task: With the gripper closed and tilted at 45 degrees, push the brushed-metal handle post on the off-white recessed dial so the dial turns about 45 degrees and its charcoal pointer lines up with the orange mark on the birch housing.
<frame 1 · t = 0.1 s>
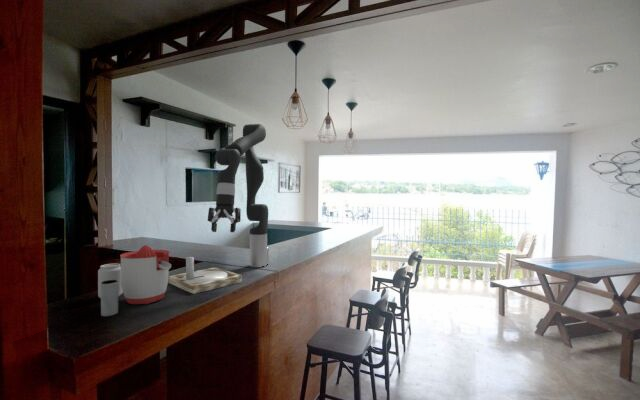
hand: (223, 232, 130), 22 cm above the table, tool pointing down, fingers open, 8 cm apart
dial: (205, 266, 133), point 7 cm above the table, hinge at 0.0°
planter: (109, 314, 98), on the table
can: (110, 297, 114), on the table
citrus juicer: (147, 300, 111), on the table
dial housing: (205, 282, 133), on the table
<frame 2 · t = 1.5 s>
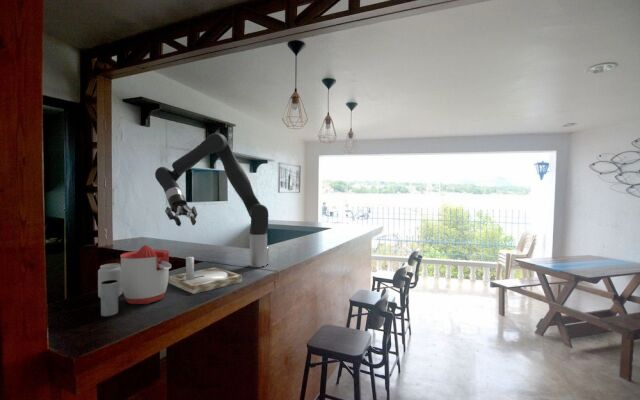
hand: (187, 224, 142), 24 cm above the table, tool tilted 45°, fingers open, 6 cm apart
nothing on the table moved.
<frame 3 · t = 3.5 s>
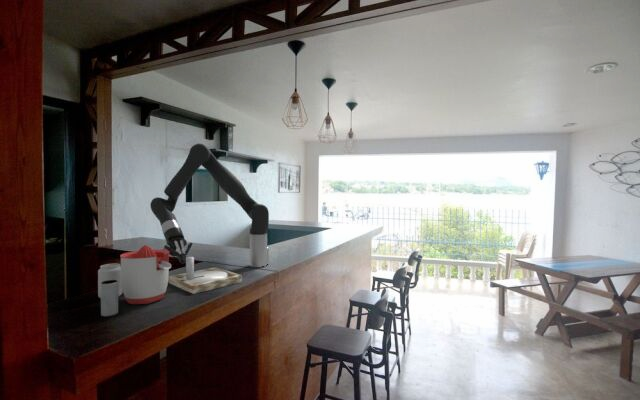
hand: (184, 262, 133), 9 cm above the table, tool tilted 45°, fingers closed
nothing on the table moved.
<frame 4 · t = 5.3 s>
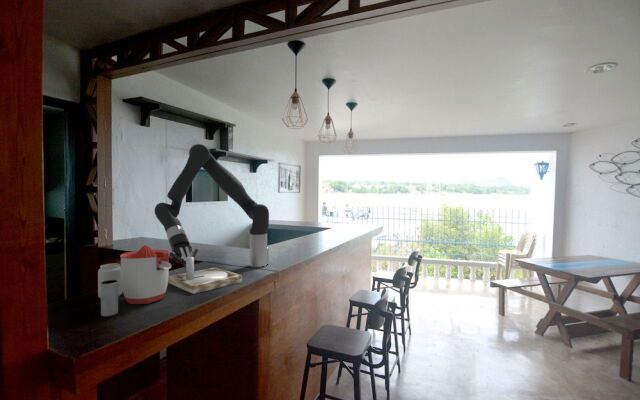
hand: (190, 269, 130), 6 cm above the table, tool tilted 45°, fingers closed
dial: (205, 266, 133), point 7 cm above the table, hinge at 0.1°, touching gripper
everything else where it was.
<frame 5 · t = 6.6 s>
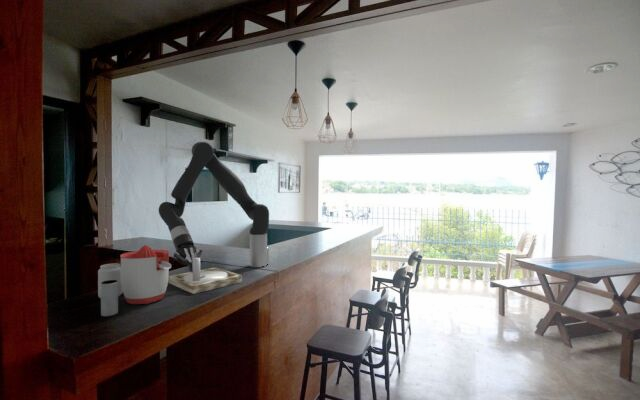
hand: (194, 271, 128), 6 cm above the table, tool tilted 45°, fingers closed
dial: (205, 266, 133), point 7 cm above the table, hinge at 31.1°, touching gripper
everything else where it was.
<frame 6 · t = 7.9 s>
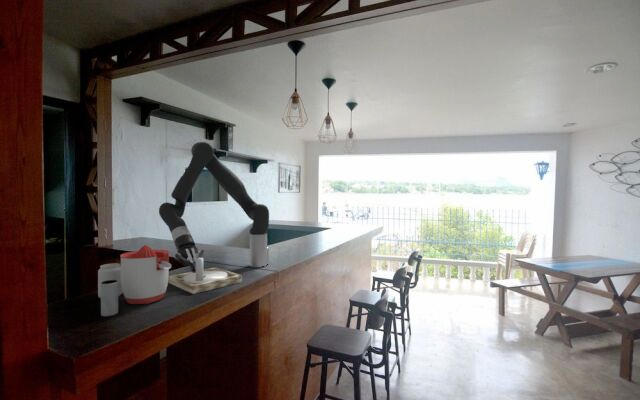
hand: (196, 271, 127), 6 cm above the table, tool tilted 45°, fingers closed
dial: (205, 266, 133), point 7 cm above the table, hinge at 42.0°, touching gripper
everything else where it was.
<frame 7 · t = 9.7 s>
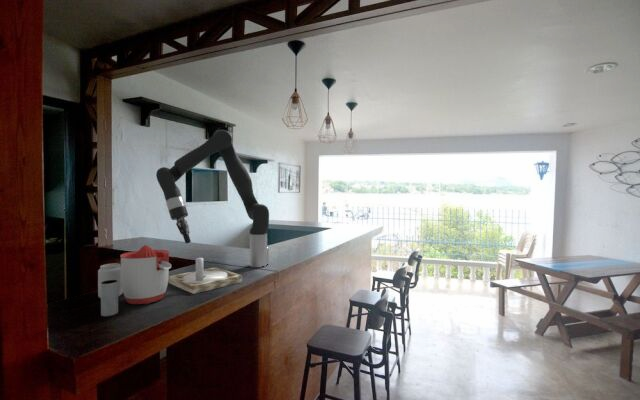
hand: (188, 242, 142), 16 cm above the table, tool tilted 20°, fingers closed
dial: (205, 266, 133), point 7 cm above the table, hinge at 42.0°
everything else where it was.
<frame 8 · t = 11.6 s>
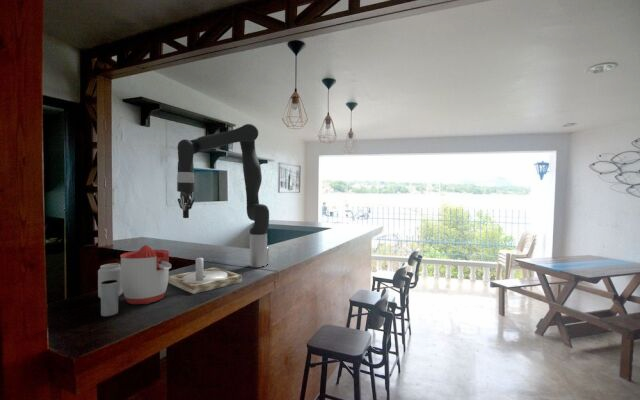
hand: (185, 217, 147), 27 cm above the table, tool pointing down, fingers closed
nothing on the table moved.
at the end: dial at +42° (first picture: +0°); dial touching nothing; citrus juicer moved 0.2 cm from its start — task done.
